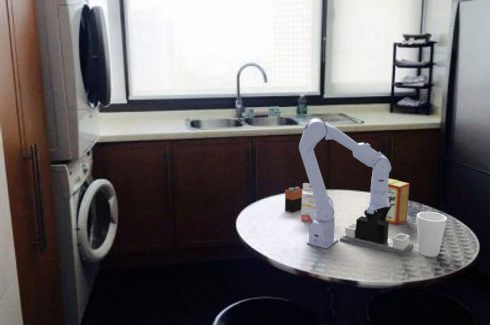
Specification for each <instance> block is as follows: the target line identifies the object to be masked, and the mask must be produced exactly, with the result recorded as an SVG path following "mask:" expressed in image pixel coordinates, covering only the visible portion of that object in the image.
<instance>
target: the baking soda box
mask: <svg viewBox="0 0 490 325" xmlns="http://www.w3.org/2000/svg"><path fill="white" fill-rule="evenodd" d="M409 196H410V183H409V182H404V181H400V180H398V179H393V178H389V183H388V196H387V198H389V203H388V204H390V205H391V209H390V210H389V212H388V214H387V217H386V220H385V221H387V222H389V224H392V225H394V224H395V226H399V224H400V225H402V224H404V223H406V222H408V220H407V219H408V207H409Z"/></svg>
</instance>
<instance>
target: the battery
mask: <svg viewBox="0 0 490 325" xmlns="http://www.w3.org/2000/svg"><path fill="white" fill-rule="evenodd" d="M302 190H303V188H300V186H295V187H289V188H288V189H285V194H284V196H285V197H284V199H285V200H284V206H285V207H284V211H287V212H289V213H291V214H292V213H295V212H298V211H301V209H302Z"/></svg>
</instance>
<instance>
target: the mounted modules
mask: <svg viewBox="0 0 490 325" xmlns="http://www.w3.org/2000/svg"><path fill="white" fill-rule="evenodd" d="M344 230H345V234H344V235H346V236H350V237H356V222H355V223H354V222H351V223H350V224H348V225H347V226H346V227H345V229H344ZM392 239H393V247H395V248H400V249H404V248H405V247H406V246H407V245H408V244H409V243H410V235H409V234H405V233H398V234H396V235H395V236H394V237H393V238H392Z"/></svg>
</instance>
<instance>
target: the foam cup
mask: <svg viewBox="0 0 490 325" xmlns="http://www.w3.org/2000/svg"><path fill="white" fill-rule="evenodd" d="M415 221H416V228H417V247H418V248H417V249H418V253H419V254H420V255H422V256H425V257H432V258H433V257H437V256H439V254H440V249H441V246H442V243H443V242H442V241H443V237H444V234H445V231H446V226H447V223H448V222H447V221H448V218H447V216H446V215H445V214H443V213H439V212H435V211H422V212H418V213H416V219H415Z"/></svg>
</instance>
